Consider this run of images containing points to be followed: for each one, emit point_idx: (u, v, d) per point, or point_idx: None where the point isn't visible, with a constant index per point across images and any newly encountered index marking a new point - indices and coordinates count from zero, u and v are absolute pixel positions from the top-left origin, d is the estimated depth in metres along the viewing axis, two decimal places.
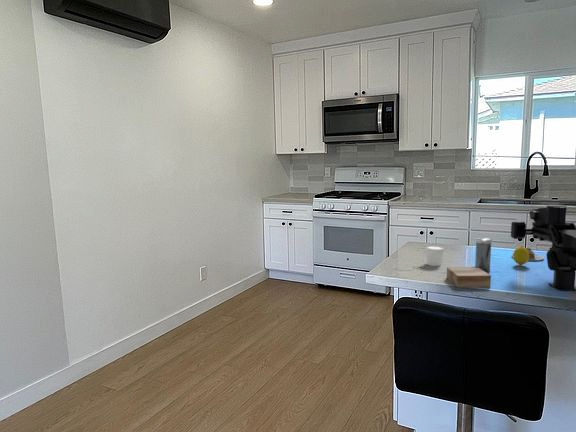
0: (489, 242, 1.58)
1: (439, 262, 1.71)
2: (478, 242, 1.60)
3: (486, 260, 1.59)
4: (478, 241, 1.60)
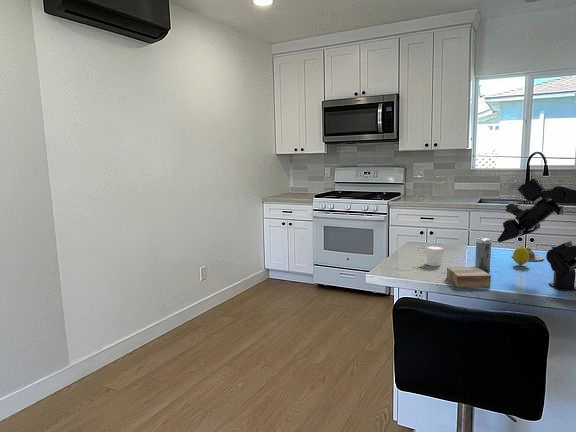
0: (489, 242, 1.58)
1: (439, 262, 1.71)
2: (478, 242, 1.60)
3: (486, 260, 1.59)
4: (478, 241, 1.60)
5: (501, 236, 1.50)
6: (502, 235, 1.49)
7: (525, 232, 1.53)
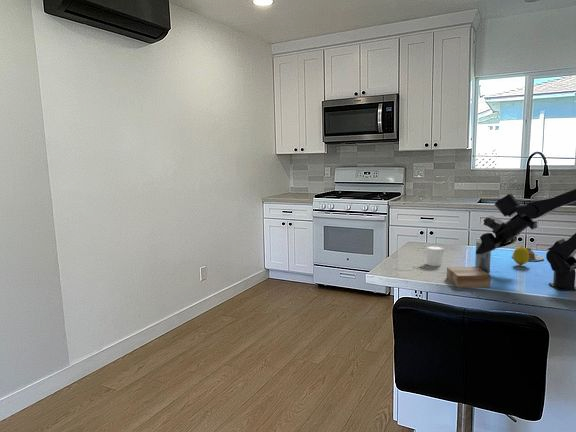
0: None
1: (439, 262, 1.71)
2: (478, 242, 1.60)
3: (486, 260, 1.59)
4: (478, 241, 1.60)
5: (479, 248, 1.56)
6: (480, 247, 1.56)
7: (502, 244, 1.60)
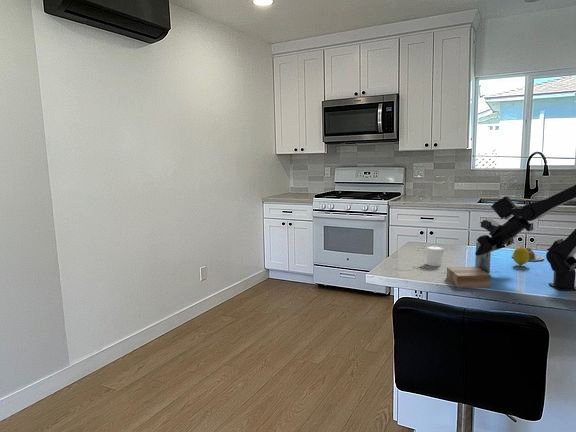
0: None
1: (439, 262, 1.71)
2: (478, 242, 1.60)
3: (486, 260, 1.59)
4: None
5: (478, 250, 1.59)
6: (480, 249, 1.58)
7: (497, 247, 1.60)
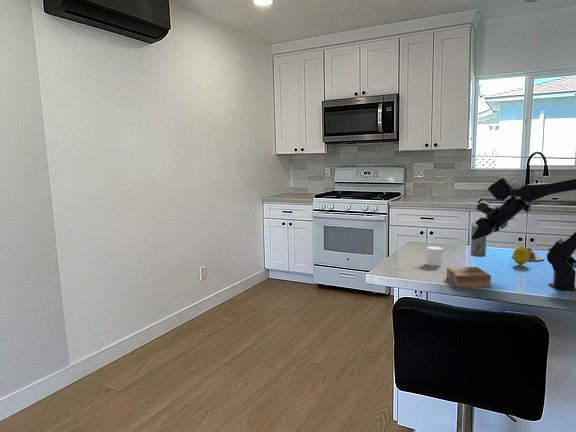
0: None
1: (439, 262, 1.71)
2: (474, 226, 1.56)
3: (483, 243, 1.56)
4: (474, 225, 1.56)
5: (475, 233, 1.55)
6: (476, 232, 1.54)
7: None
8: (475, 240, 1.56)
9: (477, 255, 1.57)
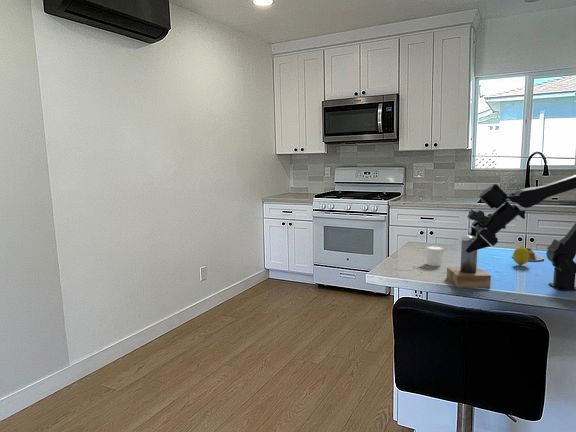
0: None
1: (439, 262, 1.71)
2: (468, 240, 1.44)
3: (476, 258, 1.45)
4: (468, 239, 1.44)
5: (471, 246, 1.41)
6: (473, 244, 1.41)
7: None
8: (469, 256, 1.45)
9: (471, 271, 1.45)
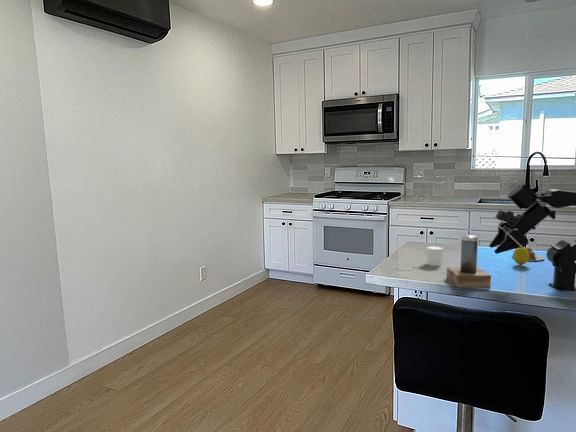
0: (477, 239, 1.45)
1: (439, 262, 1.71)
2: (468, 240, 1.44)
3: (476, 258, 1.45)
4: (468, 239, 1.44)
5: (500, 247, 1.39)
6: (502, 245, 1.39)
7: None
8: (469, 256, 1.45)
9: (471, 271, 1.45)
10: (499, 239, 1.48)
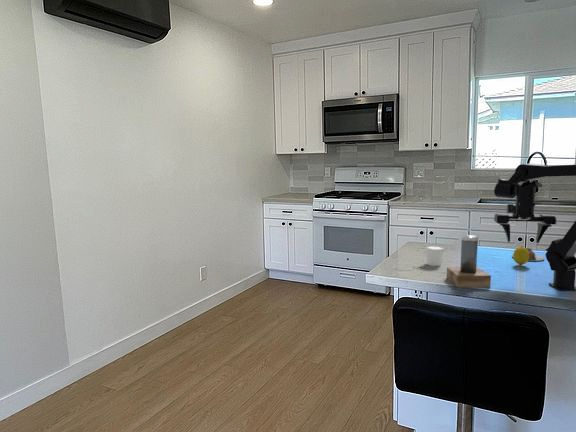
0: (477, 239, 1.45)
1: (439, 262, 1.71)
2: (468, 240, 1.44)
3: (476, 258, 1.45)
4: (468, 239, 1.44)
5: (506, 234, 1.53)
6: (505, 232, 1.53)
7: (541, 228, 1.47)
8: (469, 256, 1.45)
9: (471, 271, 1.45)
10: (538, 232, 1.49)
